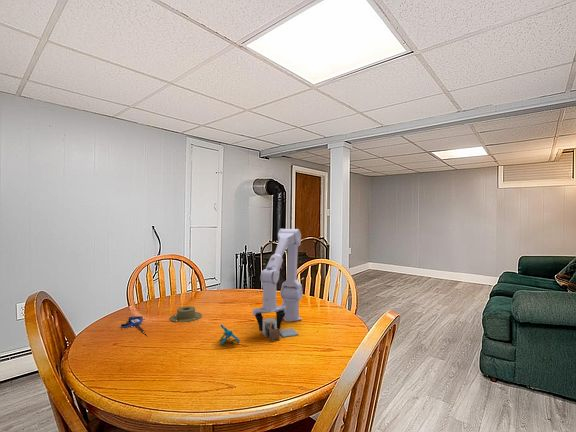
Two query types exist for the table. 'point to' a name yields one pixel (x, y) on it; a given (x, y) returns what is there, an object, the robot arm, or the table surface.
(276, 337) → the rail
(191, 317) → the flange
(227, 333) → the blue lobed piece
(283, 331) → the mat
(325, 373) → the table surface
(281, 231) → the robot arm
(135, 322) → the bar clamp
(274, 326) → the bracket
